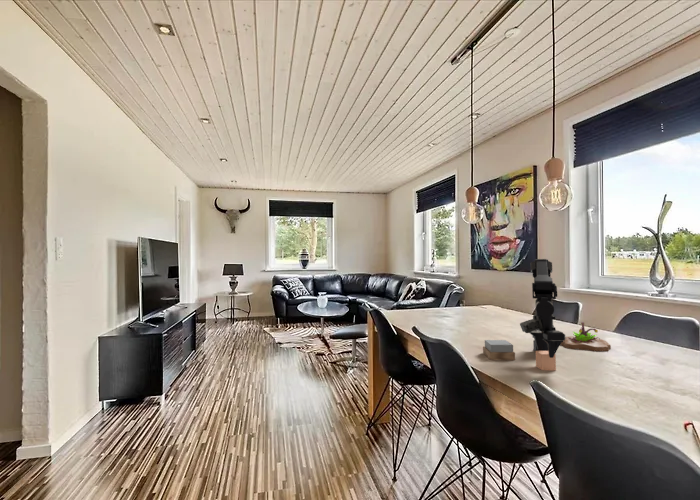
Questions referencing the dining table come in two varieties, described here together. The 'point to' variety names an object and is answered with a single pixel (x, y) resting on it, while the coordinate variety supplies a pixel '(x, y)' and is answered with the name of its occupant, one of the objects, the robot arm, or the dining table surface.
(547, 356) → the terracotta block
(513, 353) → the tower base
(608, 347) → the plant
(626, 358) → the dining table surface
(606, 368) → the dining table surface
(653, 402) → the dining table surface
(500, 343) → the tower top
